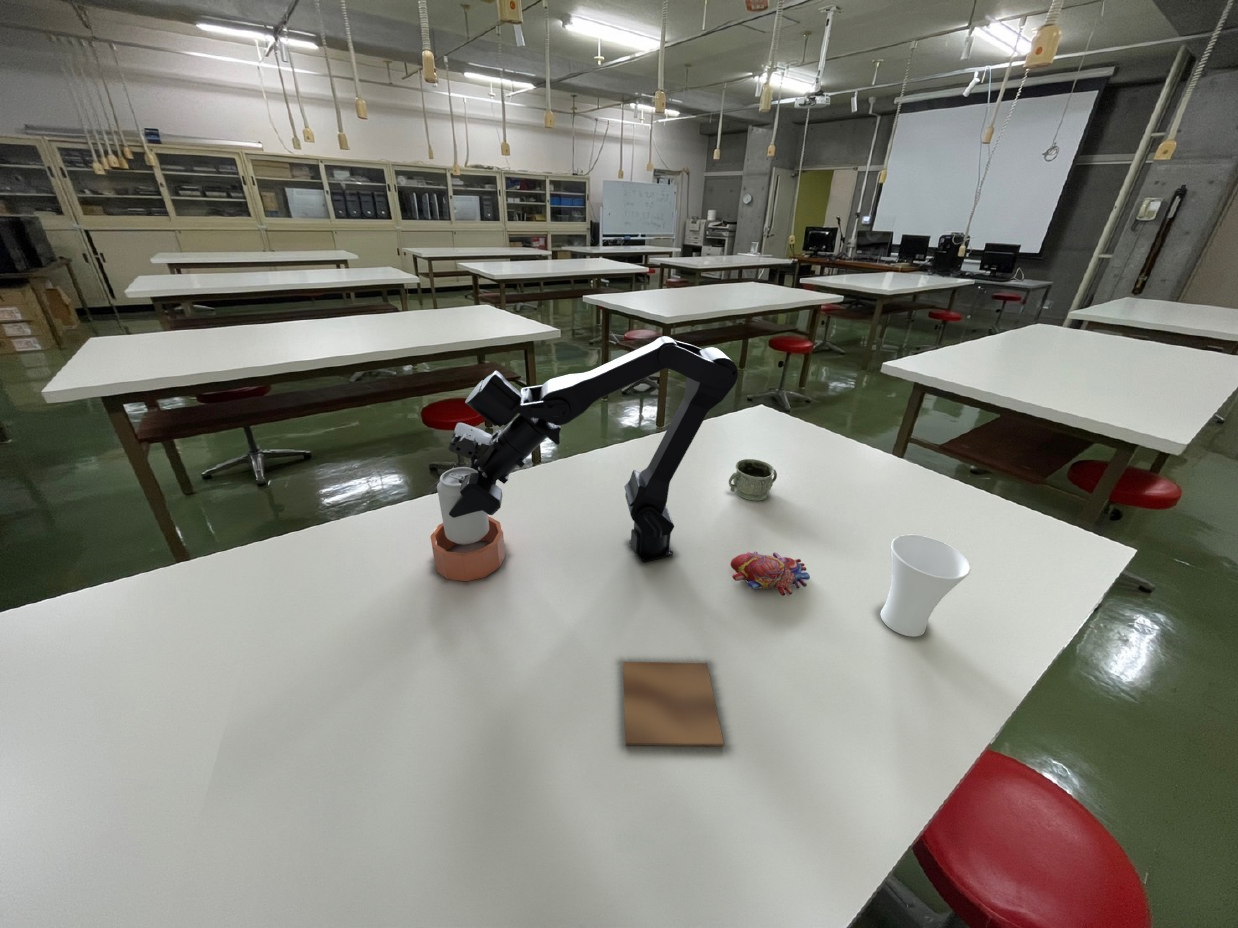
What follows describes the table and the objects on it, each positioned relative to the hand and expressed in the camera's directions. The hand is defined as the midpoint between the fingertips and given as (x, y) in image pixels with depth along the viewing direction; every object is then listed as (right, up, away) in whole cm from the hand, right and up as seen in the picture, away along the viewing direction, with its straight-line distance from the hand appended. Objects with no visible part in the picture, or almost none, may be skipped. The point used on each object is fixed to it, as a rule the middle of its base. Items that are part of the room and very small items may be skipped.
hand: (455, 502), depth 84 cm
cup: (+74, -19, -4) cm, 76 cm away
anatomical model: (+54, -14, +4) cm, 56 cm away
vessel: (+58, 0, +30) cm, 65 cm away
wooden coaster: (+34, -25, -18) cm, 46 cm away
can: (+1, -6, +3) cm, 7 cm away
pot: (+1, -11, +6) cm, 12 cm away
